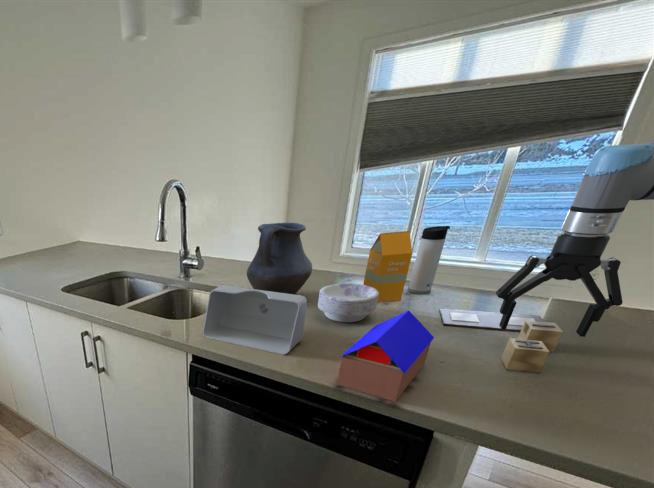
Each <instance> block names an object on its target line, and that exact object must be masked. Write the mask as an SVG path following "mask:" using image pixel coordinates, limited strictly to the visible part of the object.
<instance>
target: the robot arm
mask: <svg viewBox="0 0 654 488" xmlns="http://www.w3.org/2000/svg"><path fill="white" fill-rule="evenodd" d="M582 175H583V176H582V179H581V182H580V184H579V187H578V189H577V191H576V194H575V195H574V199H573V201H572V203H571V206H570V208H569V210H568V212H567V214H566V216H565V219H564V220H563V224H562V225H561V228H560V230H561V231H562V232H561V233H559V234H558V235H557V237H556V239H555V242H554V244H553V246H552V249H551V251H550V254H549V255H548V256H546V257H540V256H536V255H535V254H532V255H530V256H528V257H527V260H526V261H525V263H524V265H523V266H521V267H520V269H519V270H518V271H516V272H515V273H514V274H513V275H512V276H511V277H510V278H509V279H508V280H507V281H506V282H505V283H504V284H502V285H501V287H499V288H498V289H497V290H496V291H495V295H496V297H497V298H498V299H501V300H502V299H503V301H502V303H501V305H500V308H499V313H501V314H503V317H502V319H501V322H500V324H499V326H500V327H501V329H506V327H507V325H508V322H509V320H510V318H511V315H512V314H514V310H515V308H516V306H517V301H516V300H517V299H518V298H519V297H521V296H523V295H525V294H526V293H528V292H529V291H531V290H533V289H534V288H537V287H538V286H539V285H541V284H543V283H546V282H547V281H550V280H551V279H554V280H556V281H564V280H567V281H573V282H575V281H577V280H581V282H582V284H583V285H584V287H585V288H586V290H587V291H588V292H589V294H590V296H591V297H592V299H593V301H594V302H595V303H590V304H589V305H588V307H587V309H586V311H585V313H584V315H583V317H582V319H581V320H580V323H579V325H578V327H577V329H576V330H575V333H576V334H577V335H578V336H579V337H582V338H585V337H586V336H587V334H588V332H589V330H590V328H591V326H592V325H593V322H594V323H598V322H599V321H600V320H601V319H602V316H603V314H604V313H605V311H606V310H609V309H610V308H611V307H614V306H615V307H619V306H622V304H623V297H622V290H621V283H620V278H619V272H618V271H619V269H620V266H621V263H622V262H621V260H619V259H618V258H615V257H614V256H613V257H609V258H607V259H606V258H605V259H601V257H602V255H603V254H604V252H605V250H606V248H607V246H608V244H609V242H610V240H611V237H610V235H609V234H612V233H613V232H615V229H616V227H617V225H618V223H619V221H620V219H621V217H622V215H623V213H624V211H625V210H626V207H627V206H628V204H629V202H630V201H649V200H651V201H652V200H654V140H652V141H650V142H648V143H631V144H612V145H605V146H602V147H600V148H598V149H597V151H595V152H594V155H593V156H592V158H591V159H590V161H589V163H588V166H587V167H586V169H585V171H584V173H583V174H582ZM541 265H544V267H545V268H544V269H542V270H541V271H540V272H538V273H537V274H536V275H535V276H533V277H531V278H529V279H528V280H526V281H525V282H523V283H521V282H522V281H523V280H524V279H526V278H527V277H528V276H529V275H530V274H531V273H533V271H534V270H535V269H537V268H539V267H540V266H541ZM599 267H600V269H601V270H603V273H604V280H605V284H606V290H607V291H606V292H607V296H608V298H606V297H605V295H604V294H603V293H602V291H601V289H600V288H599V287H598V284H597V283H596V282H595V279H594V278H593V276H592V275H591V272H593V271H595V270H596V269H597V268H599ZM520 283H521V284H520ZM519 284H520V285H519Z"/></svg>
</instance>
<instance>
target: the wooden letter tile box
mask: <svg viewBox="0 0 654 488" xmlns="http://www.w3.org/2000/svg"><path fill="white" fill-rule="evenodd" d="M563 333H564V331H563V330H562V329H561V327H559V325H558V324H557V323H556V322H546V321H544V322H536V321H525V322H524V325H523V327H522V330H521V332H519V334H518V337H517V339H524V340H535V341H542V342H543V344H544V345H545V346H546V348H547V349H548V351H549V353H554V352H555V350H556V348H557V346H558V344H559V341H560V340H561V338H562V335H563Z"/></svg>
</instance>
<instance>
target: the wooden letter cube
mask: <svg viewBox="0 0 654 488" xmlns="http://www.w3.org/2000/svg"><path fill="white" fill-rule="evenodd" d="M549 353H550V352H549V351H548V349H547V348H546V346H545V345H544V344H543V342H542V341H535V340H524V339H518V338H514V337H513V338H511V337H509V338H508V340H507V343H506V346H505V348H504V350H503V352H502V356H501V357H500V358H501V361H502V364H503V365H504V367H505V369H506V370H508V371H509V370H510V371H518V372H525V373H535V374H540V372H541V370H542V368H543V366H544V364H545V362H546V360H547V358H548V356H549Z"/></svg>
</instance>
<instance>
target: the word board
mask: <svg viewBox="0 0 654 488" xmlns="http://www.w3.org/2000/svg"><path fill="white" fill-rule="evenodd" d="M438 311H439V315H440V318H441V322H442V326H445V327H455V328H465V329H466V328H467V329H477V330H479V329H480V330H491V331H501V332H511V333H512V332H514V333H520V332H521V330H522V327H523V325H524V322H525V321H536V322H545V320H544V319H543V317H541V315H540V314H539V315H537V314H524V313H512V315H511V318H510V320H509V322H508V325H507V327H506V329H501V327H500V326H499V324H500V322H501V319H502V317H503V314H501V313H500V312H495V311H484V310H483V311H482V310H468V309H456V308H455V309H453V308H441V307H440V308H439V309H438Z"/></svg>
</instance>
